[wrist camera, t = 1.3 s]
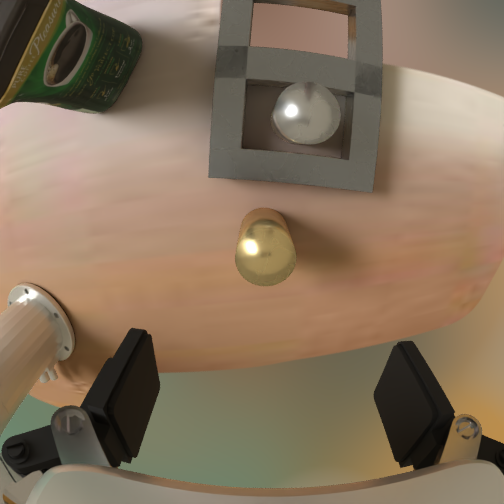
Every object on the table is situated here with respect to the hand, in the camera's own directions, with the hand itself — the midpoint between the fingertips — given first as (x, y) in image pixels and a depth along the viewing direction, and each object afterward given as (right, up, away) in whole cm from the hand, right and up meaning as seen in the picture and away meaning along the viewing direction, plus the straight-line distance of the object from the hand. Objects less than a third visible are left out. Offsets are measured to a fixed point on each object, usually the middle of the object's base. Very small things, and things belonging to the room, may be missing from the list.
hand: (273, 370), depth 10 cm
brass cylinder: (0, +6, +18) cm, 19 cm away
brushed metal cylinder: (+3, +16, +14) cm, 21 cm away
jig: (+3, +20, +12) cm, 24 cm away
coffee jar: (-16, +23, +12) cm, 30 cm away
